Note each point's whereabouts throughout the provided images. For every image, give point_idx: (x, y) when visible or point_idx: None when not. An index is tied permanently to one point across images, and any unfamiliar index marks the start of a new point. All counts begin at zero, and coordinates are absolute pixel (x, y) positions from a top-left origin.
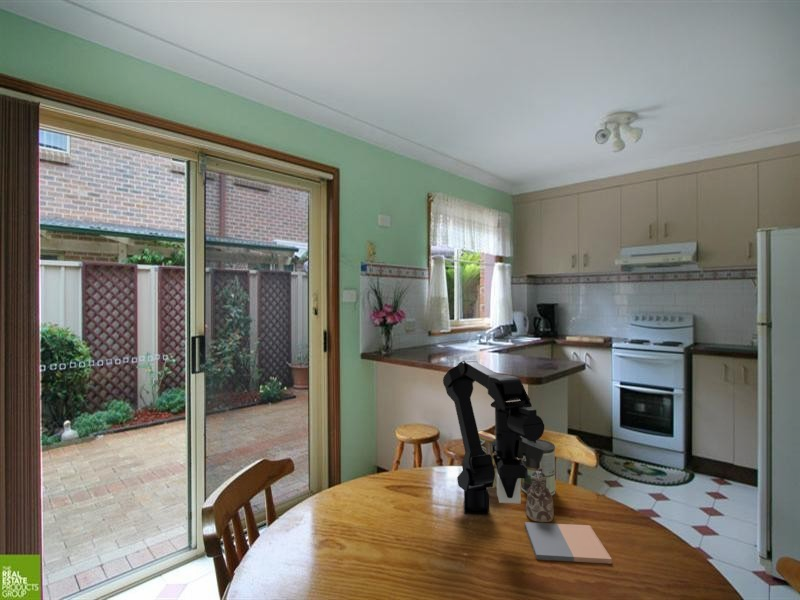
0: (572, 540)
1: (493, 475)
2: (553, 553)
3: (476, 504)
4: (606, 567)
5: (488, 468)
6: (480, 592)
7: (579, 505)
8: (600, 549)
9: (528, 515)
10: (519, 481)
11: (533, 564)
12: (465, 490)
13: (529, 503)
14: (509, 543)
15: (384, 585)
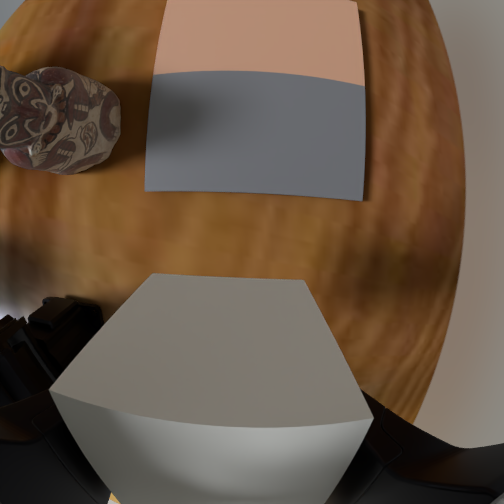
0: (268, 51)
1: (11, 359)
2: (353, 141)
3: None
4: (370, 27)
5: (6, 404)
6: (439, 351)
7: (51, 22)
8: (313, 2)
9: (87, 167)
10: (353, 392)
11: (379, 217)
12: None
13: (63, 162)
14: (269, 268)
15: None
